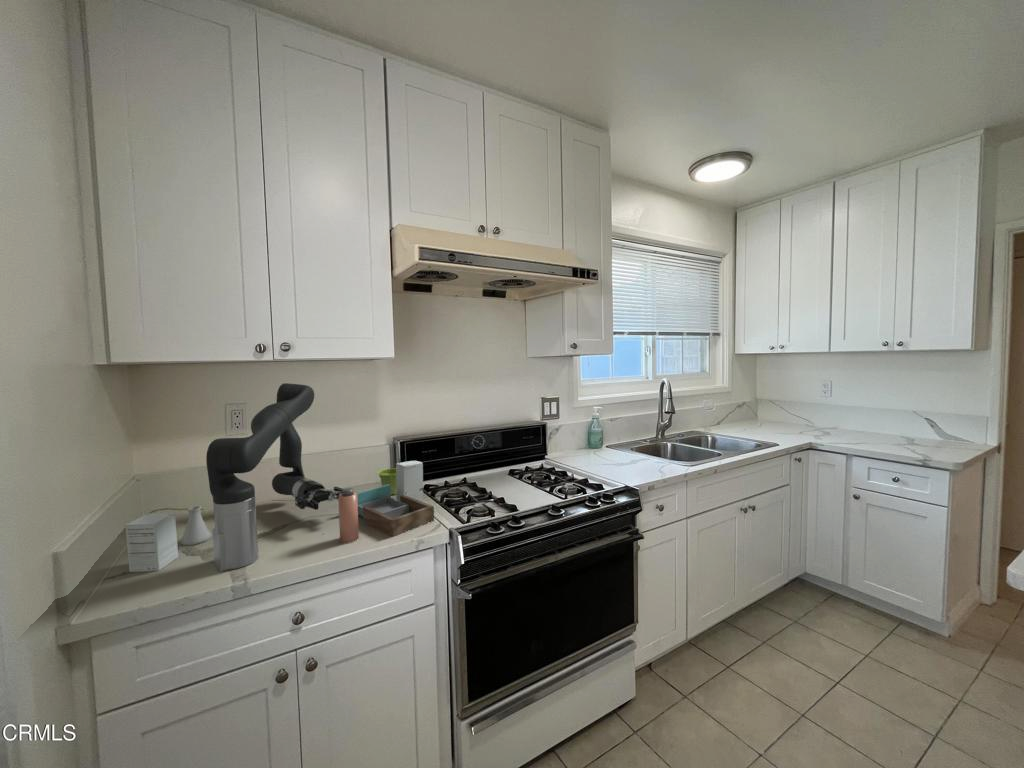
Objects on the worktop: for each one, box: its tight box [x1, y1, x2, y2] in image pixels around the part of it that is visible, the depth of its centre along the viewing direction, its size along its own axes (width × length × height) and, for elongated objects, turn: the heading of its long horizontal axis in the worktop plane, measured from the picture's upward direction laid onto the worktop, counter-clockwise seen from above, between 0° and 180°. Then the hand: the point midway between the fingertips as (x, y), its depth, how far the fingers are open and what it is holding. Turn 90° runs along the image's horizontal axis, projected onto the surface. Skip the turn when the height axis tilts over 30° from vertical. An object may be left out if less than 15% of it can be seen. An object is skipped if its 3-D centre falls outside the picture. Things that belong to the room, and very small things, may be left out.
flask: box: [179, 505, 213, 546], centre depth 124 cm, size 7×7×10 cm
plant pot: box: [377, 467, 397, 496], centre depth 165 cm, size 9×9×9 cm
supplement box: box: [124, 512, 179, 573], centre depth 110 cm, size 7×7×13 cm
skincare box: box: [395, 460, 424, 502], centre depth 155 cm, size 8×6×15 cm
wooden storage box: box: [362, 495, 435, 537], centre depth 137 cm, size 15×17×5 cm
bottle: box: [337, 487, 360, 544], centre depth 124 cm, size 5×5×15 cm
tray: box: [356, 484, 409, 518], centre depth 144 cm, size 16×15×6 cm
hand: (331, 502), depth 131 cm, fingers open, 8 cm apart
